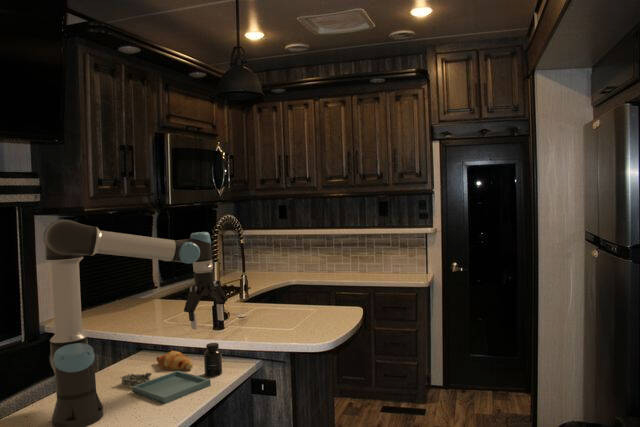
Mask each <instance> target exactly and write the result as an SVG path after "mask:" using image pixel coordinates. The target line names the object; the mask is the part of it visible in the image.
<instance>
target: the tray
mask: <svg viewBox="0 0 640 427" xmlns="http://www.w3.org/2000/svg"><path fill="white" fill-rule="evenodd" d="M211 386H212V384H211V379H210V378H205V377H202V376H199V375H195V374H191V373H187V372H184V371H181V370H174V371H173V372H170V373H167V374H164V375H161V376H159V377H155V378H152V379H150V380H149V381H147V382H144V383H141V384H138V385H135V386H132V387H131V391H132V392H134V393H133V394H135V393H136V394H135V395H138V394H139V395H138V396H141V395H142V396H141V397H143V396H145V397H144V398H146V397H147V399H149V398H150V400H152V399H153V400H152V401H155V400H156V401H155V402H158V403H160V402H161V404H163V405H166V404H168V403H171V402H174V401H175V400H178V398H179V399H181V398H183V396H184V397H185V396H188V394H189V395H190V393H191V394H193V393H196V392H199V391H201V390H204V389H206V388H208V387H211Z"/></svg>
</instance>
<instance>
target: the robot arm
mask: <svg viewBox="0 0 640 427" xmlns="http://www.w3.org/2000/svg"><path fill="white" fill-rule="evenodd" d="M42 236H43V237H42V238H43V239H42V240H43V242H44V247H45V250H44V251H45V261H46V263H49V265H51V266H50V268H51V283H52V284H51V287H52V302H53V303H52V305H53V307H52V308H53V324H54V335H53V336H52V337H51V338H50V339H49V345H50V354H49V364H50V366H51V368H52V370H53V373H54V378H55V379H54V380H55V393H56V401H55V402H56V403H55V404H54V409H53V412H52V416H51V426H52V427H86V426H90V425H92V424H95V423H96V422H98V421H100V420H101V419H102V418H103V417H104V415H105V413H104V407H103V404H102V401H101V399H100V397H99V396H98V393H97V382H96V367H95V357H96V356H95V355H96V354H95V353H94V348H93V346H92V345H90V344H89V343H88V342H89V341H88V333H86V332H84V331H83V321H82V318H83V317H82V300H81V296H82V295H81V281H80V280H81V278H80V262H81V261H82V260H83V259H84V256H90V257H91V256H95V255H96V254H101V255H111V256H120V257H121V256H122V257H129V258H130V257H132V258H140V259H149V260H159V261H163V262H175V263H176V262H177V263H184V264H188V265H189V264H192V268H193V270H192V271H193V272H194V273H193V279H194V283H195V286H189V287H188V295H187V298H186V302H185V305H184V308H183V312H184V313H188V319H189V321H190V328H191V330H198V319H197V311H196V309H197V307H198V305H199V304H200V301H201V299H202V298H203V297H205V296H207V295H210V296H211V297H212V298H213V299H214V300H215V301H216V302H217V304H216V314H217V320H218V321H221V322H222V321H224V320H225V319H224V318H225V317H224V312H225V307H224V306H225V304H226V302H228V298H227V296H226V294H225V292H224V290H223V288H222V286H221V283H220V280H215V279H214V278H215V277H214V275H215V274H214V271H213V270H214V264H213V255H212V241H211V235H210V233H209V232H208V231H201V232H200V231H198V232H192V233H191V234H190V236H189V237H190V238H185V239H178V240H174V239H168V238H162V237H161V238H160V237H151V236H143V235H136V234H130V233H122V232H115V231H106V230H100V229H99V228H98V226H92V225H87V224H83V223H79V222H76V221H74V220H70V219H57V220H54V221H52V222H51V223H50V224H48V225H47V227H46V228H45V230H44V232H43V235H42Z"/></svg>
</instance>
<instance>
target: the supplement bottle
mask: <svg viewBox="0 0 640 427" xmlns="http://www.w3.org/2000/svg"><path fill="white" fill-rule="evenodd" d="M205 347H206V351H205V352H204V353H203V359H204V360H203V362H204V363H203V364H204V365H203V366H204V374H205V376H206V377H210V378H214V377H218V376H221V375H222V373H223V364H222V363H223V360H222V359H223V357H222V355H223V354H222V351H221V350H220V346H219V343H217V342H209V343H207V344H206V346H205Z"/></svg>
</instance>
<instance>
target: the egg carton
mask: <svg viewBox="0 0 640 427" xmlns="http://www.w3.org/2000/svg"><path fill="white" fill-rule="evenodd" d="M151 376H152V372H146V373H142V374H141V373H139V374H135V373H129V374H126V375H123V376H119V378H120V379H121V386H122V385H129V386H135V385H138V384H141V383H144V382H147V381H149V380H151ZM129 386H128V387H129Z"/></svg>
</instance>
